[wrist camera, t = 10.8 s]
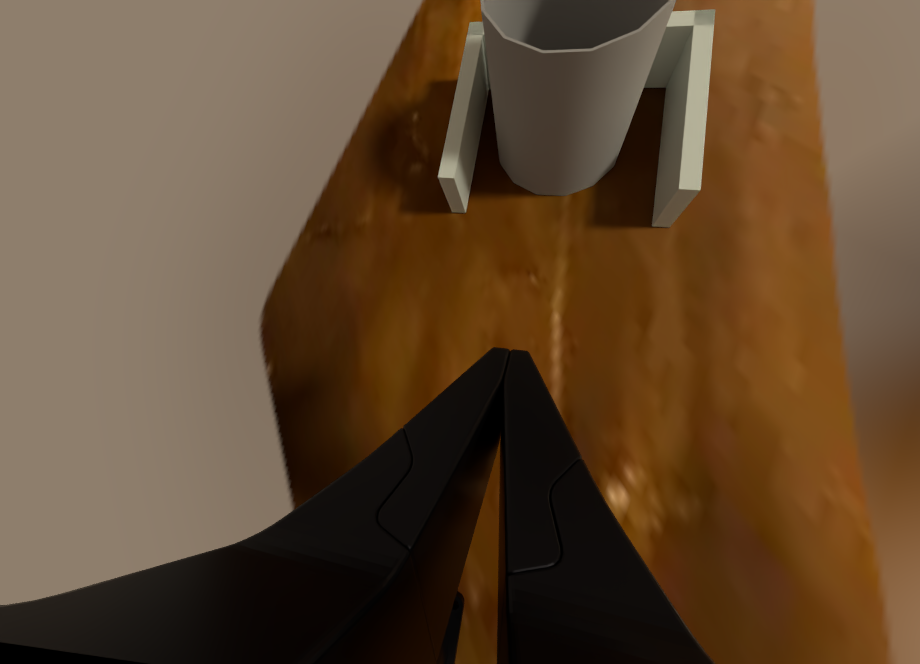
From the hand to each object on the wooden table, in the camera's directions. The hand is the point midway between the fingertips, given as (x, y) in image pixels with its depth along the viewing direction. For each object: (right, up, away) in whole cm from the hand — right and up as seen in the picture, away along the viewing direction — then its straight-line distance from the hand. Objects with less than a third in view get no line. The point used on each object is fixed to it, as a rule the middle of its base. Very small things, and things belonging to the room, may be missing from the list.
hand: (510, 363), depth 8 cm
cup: (+6, +14, +16) cm, 22 cm away
